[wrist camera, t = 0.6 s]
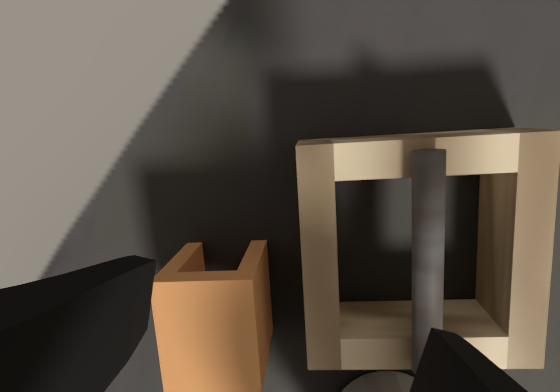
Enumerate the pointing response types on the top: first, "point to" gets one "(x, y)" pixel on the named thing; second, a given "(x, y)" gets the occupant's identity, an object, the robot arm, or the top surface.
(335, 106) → the top surface
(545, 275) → the shelf block
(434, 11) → the top surface
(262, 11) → the top surface
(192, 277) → the orange u-channel
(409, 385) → the coffee cup
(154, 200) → the top surface
